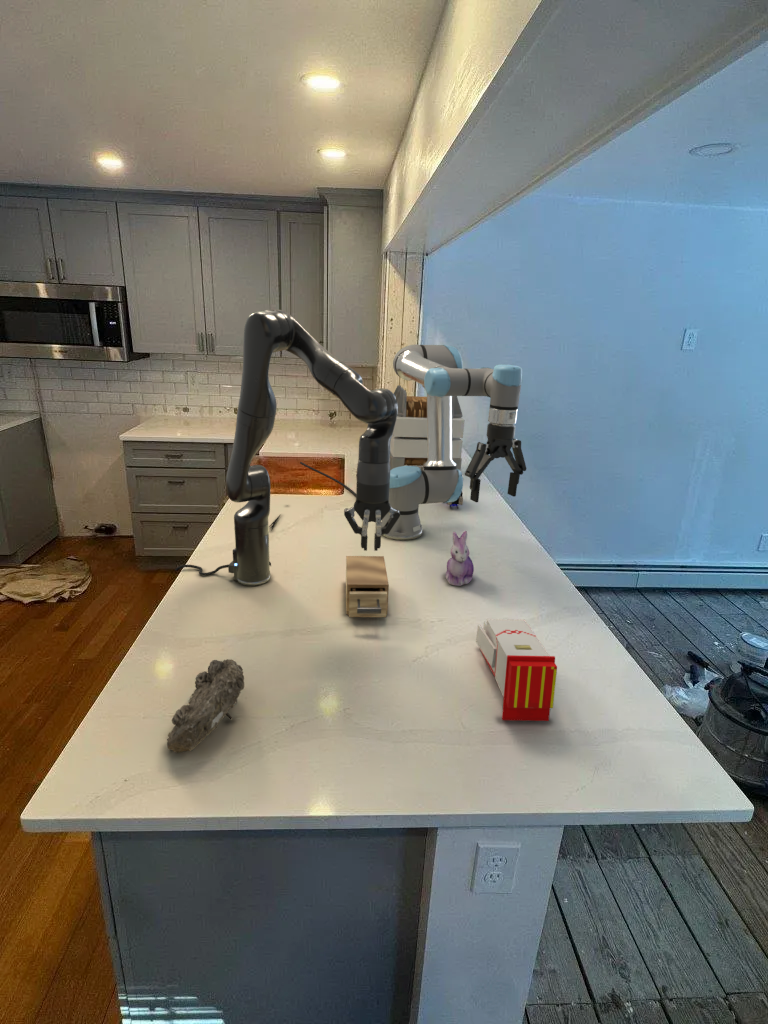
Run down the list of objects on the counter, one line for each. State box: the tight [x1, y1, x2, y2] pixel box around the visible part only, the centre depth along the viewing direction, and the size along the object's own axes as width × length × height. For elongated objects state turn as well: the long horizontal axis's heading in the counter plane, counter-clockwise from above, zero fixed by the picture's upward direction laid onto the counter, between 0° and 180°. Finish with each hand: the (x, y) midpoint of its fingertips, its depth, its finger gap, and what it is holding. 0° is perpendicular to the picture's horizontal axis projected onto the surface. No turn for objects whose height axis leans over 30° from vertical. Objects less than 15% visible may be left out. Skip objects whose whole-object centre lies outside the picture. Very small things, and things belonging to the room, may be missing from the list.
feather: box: [268, 504, 288, 532], centre depth 209 cm, size 2×28×2 cm
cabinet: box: [345, 555, 390, 616], centre depth 153 cm, size 17×11×9 cm, turn 4°
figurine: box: [445, 530, 475, 587], centre depth 165 cm, size 9×10×15 cm
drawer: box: [348, 588, 387, 618], centre depth 147 cm, size 22×9×7 cm, turn 4°
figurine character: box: [446, 491, 464, 510], centre depth 231 cm, size 7×8×15 cm
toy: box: [475, 618, 558, 722], centre depth 122 cm, size 12×13×30 cm
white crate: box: [390, 384, 465, 472], centre depth 268 cm, size 34×33×41 cm
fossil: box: [166, 658, 245, 754], centre depth 106 cm, size 22×10×15 cm
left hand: (370, 549), depth 134 cm, fingers closed
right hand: (493, 498), depth 161 cm, fingers open, 13 cm apart
